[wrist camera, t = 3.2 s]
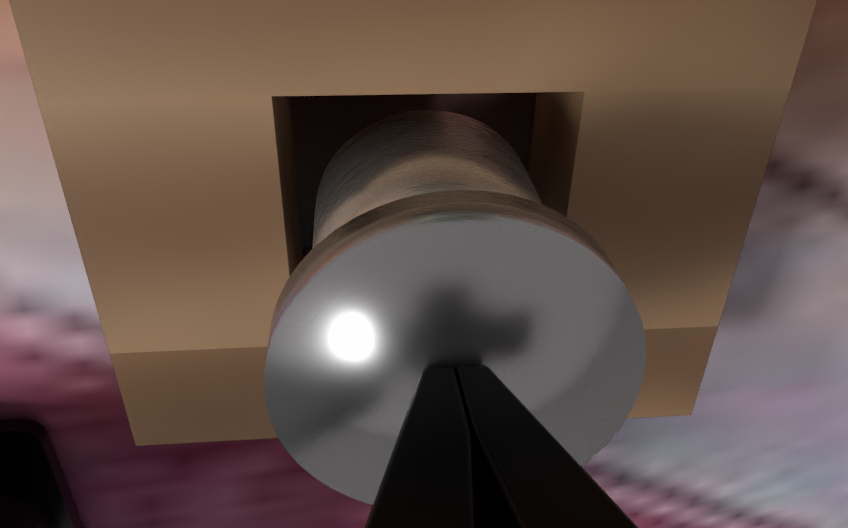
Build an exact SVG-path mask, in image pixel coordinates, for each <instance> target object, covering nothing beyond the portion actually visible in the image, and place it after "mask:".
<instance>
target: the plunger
mask: <svg viewBox="0 0 848 528" xmlns="http://www.w3.org/2000/svg"><path fill="white" fill-rule="evenodd" d="M469 365H485V366H487V367H489V368H490V369H491V370H492V371H493V372H494V374H495V375H496V376H497V377H498V378H499V379H500V380H501V381H502V382H503V383H504V384H505V385H506V386H507V387H508V389H509V390H510V391H511V392H512V393H513V394H514V395H515V396H516V397H517V398H518V399H519V400H520V401H521V402H522V404H523V405H524V406H525V407H526V408H527V409H528V410H529V411H530V412H531V413H532V414H533V415H534V416H535V417H536V419H537V420H538V421H539V422H540V423H541V424H542V425H543V426H544V427H545V428H546V429H547V430H548V431H549V433H550V434H551V435H552V436H553V437H554V438H555V439H556V440H557V441H558V442H559V443H560V444H561V445H562V446H563V448H564V449H565V450H566V451H567V452H568V453H569V454H570V455H571V456H572V457H573V458H574V459H575V460H576V461H577V463H578V464H579V465H580V466H582V465H583V464H584V463H586V462H587V461H588V460H590V459H591V458H592V457H593V456H594V455H595V454H596V453H597V452H598V451H599V450H601V449H602V448H603V447H604V446H605V445H606V444H607V442H608V441H609V440H610V439H611V438H612V437H613V436H614V434H615V433H616V432H617V431H618V430H619V428H620V427H621V425H622V424H623V422H624V421H625V419H626V418H627V416H628V415H629V413H630V411H631V409H632V407H633V405H634V403H635V401H636V399H637V397H638V394H639V391H640V388H641V385H642V382H643V379H644V372H645V366H646V338H645V332H644V327H643V322H642V320H641V317H640V315H639V312H638V309H637V307H636V304H635V303H634V301H633V299H632V297H631V295H630V294H629V292H628V290H627V288H626V287H625V285H624V283H623V281H622V280H621V278H620V276H619V274H618V272H617V271H616V269H615V267H614V266H613V264H612V262H611V261H610V259H609V257H608V256H607V254H606V252H605V251H604V250H603V249H602V248H601V246H600V245H599V244H598V243H597V242H596V241H595V239H594V238H593V237H592V236H591V235H589V234H588V233H587V232H586V231H585V230H584V229H582V228H581V227H580V226H579V225H578V224H577V223H575V222H574V221H572V220H570V219H569V218H567V217H565V216H564V215H562V214H561V213H559V212H557V211H555V210H553V209H551V208H549V207H546V206H544V205H542V202H541V200H540V198H539V196H538V194H537V192H536V190H535V188H534V186H533V184H532V182H531V179H530V177H529V175H528V173H527V171H526V169H525V167H524V165H523V163H522V161H521V159H520V158H519V156H518V154H517V153H516V151H515V150H514V149H513V147H512V146H511V145H510V144H509V143H508V142H507V140H505V139H504V138H503V137H502V136H501V135H500V134H499V133H497V132H496V131H495V130H493V129H492V128H490V127H489V126H487V125H486V124H484V123H482V122H480V121H478V120H475V119H473V118H471V117H468V116H465V115H462V114H458V113H454V112H448V111H442V110H417V111H409V112H404V113H399V114H395V115H392V116H389V117H386V118H383V119H381V120H379V121H377V122H375V123H373V124H371V125H369V126H367V127H365V128H364V129H362V130H361V131H359V132H358V133H356V134H355V135H354V136H353V137H351V138H350V139H349V140H348V141H347V142H346V143H344V145H343V146H342V147H341V148H340V149H339V150H338V151H337V152H336V154H335V155H334V156H333V158H332V159H331V161H330V162H329V164H328V165H327V167H326V169H325V171H324V173H323V175H322V178H321V180H320V184H319V187H318V190H317V196H316V202H315V216H314V231H313V247H312V250H311V251H310V252H309V253H308V254H307V255H306V256H305V258H304V259H303V260H302V261H301V262H300V263H299V264H298V266H297V267H296V269H295V270H294V271H293V273H292V274H291V276H290V277H289V279H288V280H287V281H286V284H285V286H284V288H283V290H282V292H281V294H280V296H279V298H278V300H277V303H276V306H275V309H274V312H273V316H272V319H271V326H270V333H269V341H268V348H267V355H266V363H265V371H264V378H263V382H264V399H265V404H266V408H267V412H268V417H269V419H270V421H271V424H272V426H273V429H274V431H275V433H276V435H277V437H278V438H279V440H280V441H281V443H282V444H283V446H284V448H285V449H286V450H287V452H288V453H289V454H290V455H291V456H292V457H293V458H294V460H295V461H296V462H297V463H298V464H299V465H300V466H301V467H302V468H304V469H305V470H306V471H307V472H308V473H309V474H311V475H312V476H313V477H314V478H316V479H317V480H319V481H321V482H322V483H324V484H325V485H327V486H328V487H330V488H332V489H334V490H336V491H338V492H340V493H342V494H344V495H346V496H348V497H351V498H354V499H356V500H359V501H362V502H365V503H368V504H371V505H373V503H374V501H375V498H376V495H377V492H378V490H379V487H380V484H381V481H382V479H383V476H384V473H385V471H386V468H387V465H388V462H389V460H390V457H391V454H392V451H393V449H394V446H395V443H396V440H397V438H398V435H399V432H400V429H401V427H402V424H403V421H404V419H405V416H406V413H407V410H408V408H409V405H410V402H411V399H412V397H413V394H414V391H415V388H416V386H417V383H418V380H419V377H420V375H421V372H422V371H423V369H425V368H429V367H452V368H453V369H454V370H456V368H457V367H459V366H469Z"/></svg>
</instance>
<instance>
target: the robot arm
mask: <svg viewBox="0 0 848 528" xmlns="http://www.w3.org/2000/svg"><path fill="white" fill-rule="evenodd" d="M22 438H24V439H26V440H24V439H22ZM0 528H83V526H82V523H81V521H80V518H79V515H78V513H77V510H76V507H75V505H74V502H73V499H72V497H71V494H70V491H69V489H68V486H67V483H66V480H65V478H64V475H63V472H62V470H61V467H60V464H59V462H58V459H57V456H56V454H55V451H54V448H53V446H52V443H51V440H50V438H49V435H48V432H47V431H46V429H45V428H44V426H42V425H41V424H39V423H38V422H35V421H32V420H29V419H8V420H0ZM365 528H638V527H637V526H636V525H635V524H634V523H633V521H632V520H631V519H630V518H629V517H628V516H627V515H626V514H625V513H624V512H623V511H622V510H621V509H620V508H619V506H618V505H617V504H616V503H615V502H614V501H613V500H612V499H611V498H610V497H609V496H608V495H607V494H606V493H605V491H604V490H603V489H602V488H601V487H600V486H599V485H598V484H597V483H596V482H595V481H594V480H593V479H592V478H591V476H590V475H589V474H588V473H587V472H586V471H585V470H584V469H583V468H582V467H581V466H580V465H579V464H578V463H577V461H576V460H575V459H574V458H573V457H572V456H571V455H570V454H569V453H568V452H567V451H566V450H565V449H564V448H563V446H562V445H561V444H560V443H559V442H558V441H557V440H556V439H555V438H554V437H553V436H552V435H551V434H550V433H549V431H548V430H547V429H546V428H545V427H544V426H543V425H542V424H541V423H540V422H539V421H538V420H537V419H536V417H535V416H534V415H533V414H532V413H531V412H530V411H529V410H528V409H527V408H526V407H525V406H524V405H523V404H522V402H521V401H520V400H519V399H518V398H517V397H516V396H515V395H514V394H513V393H512V392H511V391H510V390H509V389H508V387H507V386H506V385H505V384H504V383H503V382H502V381H501V380H500V379H499V378H498V377H497V376H496V375H495V374H494V372H493V371H492V370H491V369H490V368H489V367H487V366H485V365H469V366H459V367H457V368H456V370H454V369H453V368H452V367H429V368H425V369H423V371H422V372H421V375H420V377H419V380H418V383H417V386H416V388H415V391H414V394H413V397H412V399H411V402H410V405H409V408H408V410H407V413H406V416H405V419H404V421H403V424H402V427H401V429H400V432H399V435H398V438H397V440H396V443H395V446H394V449H393V451H392V454H391V457H390V460H389V462H388V465H387V468H386V471H385V473H384V476H383V479H382V481H381V484H380V487H379V490H378V492H377V495H376V498H375V501H374V503H373V506H372V509H371V512H370V514H369V517H368V520H367V523H366V525H365Z"/></svg>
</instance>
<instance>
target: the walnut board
mask: <svg viewBox="0 0 848 528" xmlns="http://www.w3.org/2000/svg"><path fill="white" fill-rule="evenodd" d="M9 2H10V6H11V9H12V13H13V16H14V20H15V23H16V27H17V30H18V34H19V37H20V41H21V44H22V48H23V51H24V55H25V58H26V62H27V65H28V69H29V73H30V76H31V80H32V83H33V87H34V90H35V94H36V97H37V101H38V104H39V108H40V111H41V115H42V118H43V122H44V125H45V129H46V132H47V136H48V139H49V143H50V146H51V150H52V153H53V157H54V160H55V164H56V167H57V171H58V174H59V178H60V181H61V185H62V189H63V192H64V196H65V199H66V203H67V206H68V210H69V213H70V217H71V220H72V224H73V227H74V231H75V234H76V238H77V241H78V245H79V248H80V252H81V255H82V259H83V262H84V266H85V269H86V273H87V276H88V280H89V283H90V287H91V290H92V294H93V297H94V301H95V304H96V308H97V312H98V315H99V319H100V322H101V326H102V329H103V333H104V336H105V340H106V343H107V347H108V350H109V354H110V357H111V361H112V364H113V368H114V371H115V375H116V378H117V382H118V385H119V389H120V392H121V396H122V399H123V403H124V406H125V410H126V413H127V417H128V420H129V424H130V428H131V431H132V435H133V438H134V442H135V445H136V446H144V445H162V444H180V443H198V442H215V441H233V440H251V439H269V438H278V437H277V435H276V433H275V431H274V429H273V426H272V424H271V421H270V419H269V417H268V412H267V408H266V404H265V399H264V382H263V378H264V371H265V363H266V355H267V348H268V341H269V333H270V326H271V319H272V316H273V312H274V309H275V306H276V303H277V300H278V298H279V296H280V294H281V292H282V290H283V288H284V286H285V284H286V281H287V280H288V279H289V277H290V276H291V274H292V273H293V271H294V270H295V269H296V267H297V266H298V264H299V263H300V262H301V261H302V260H303V250H302V239H301V227H300V216H299V204H298V193H297V181H296V169H295V158H294V146H293V135H292V123H291V112H290V100H289V96H329V95H395V94H461V93H526V92H537V93H536V102H535V112H534V121H533V130H532V140H531V149H530V159H529V168H528V175H529V177H530V179H531V182H532V184H533V186H534V188H535V190H536V192H537V194H538V196H539V198H540V200H541V202H542V205H544V206H546V207H549V208H551V209H553V210H555V211H557V212H559V213H561V214H562V215H564V216H565V217H567V218H569V219H570V220H572V221H574V222H575V223H577V224H578V225H579V226H580V227H581V228H582V229H584V230H585V231H586V232H587V233H588V234H589V235H591V236H592V237H593V238H594V239H595V241H596V242H597V243H598V244H599V245H600V246H601V248H602V249H603V250H604V251H605V252H606V254H607V256H608V257H609V259H610V261H611V262H612V264H613V266H614V267H615V269H616V271H617V272H618V274H619V276H620V278H621V280H622V281H623V283H624V285H625V287H626V288H627V290H628V292H629V294H630V295H631V297H632V299H633V301H634V303H635V304H636V307H637V309H638V312H639V315H640V317H641V320H642V322H643V327H644V332H645V338H646V366H645V372H644V379H643V382H642V385H641V388H640V391H639V394H638V397H637V399H636V401H635V403H634V405H633V407H632V409H631V411H630V413H629V415H628V416H627V418H644V417H661V416H679V415H691V414H692V410H693V407H694V404H695V401H696V397H697V394H698V391H699V387H700V384H701V381H702V378H703V374H704V371H705V368H706V364H707V361H708V358H709V355H710V351H711V348H712V345H713V341H714V338H715V335H716V332H717V328H718V325H719V322H720V318H721V315H722V312H723V309H724V305H725V302H726V299H727V295H728V292H729V289H730V286H731V282H732V279H733V276H734V272H735V269H736V266H737V263H738V259H739V256H740V253H741V249H742V246H743V243H744V240H745V236H746V233H747V230H748V226H749V223H750V220H751V217H752V213H753V210H754V207H755V203H756V200H757V197H758V194H759V190H760V187H761V184H762V180H763V177H764V174H765V171H766V167H767V164H768V161H769V157H770V154H771V151H772V148H773V144H774V141H775V138H776V134H777V131H778V128H779V125H780V121H781V118H782V115H783V111H784V108H785V105H786V102H787V98H788V95H789V92H790V88H791V85H792V82H793V79H794V75H795V72H796V69H797V65H798V62H799V59H800V56H801V52H802V49H803V46H804V42H805V39H806V36H807V33H808V29H809V26H810V23H811V19H812V16H813V13H814V9H815V6H816V3H817V0H9Z"/></svg>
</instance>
